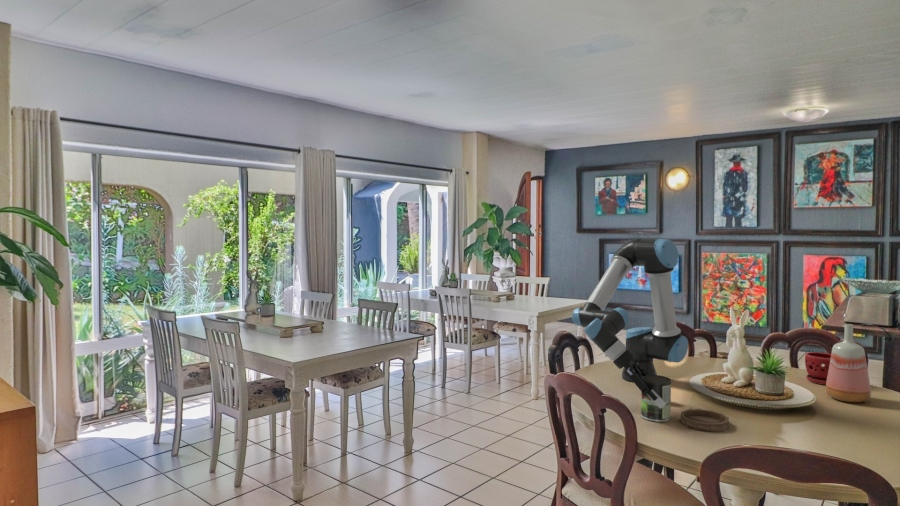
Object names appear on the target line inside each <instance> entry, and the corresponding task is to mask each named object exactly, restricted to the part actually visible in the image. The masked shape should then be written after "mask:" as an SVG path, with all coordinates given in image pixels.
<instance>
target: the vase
mask: <svg viewBox="0 0 900 506" xmlns="http://www.w3.org/2000/svg"><path fill="white" fill-rule="evenodd" d="M843 334H844V335H843V336H844V337H843V341H840V342H837V343H835V344H834V345H833V346H832V348H831V353H830V354H831V359H830V364H829V370H828V375H827V381H826V385H825V392H826V393H827V395H828V396H829V397H831V398H833V399H835V400H837V401H842V402H847V403H853V404H854V403H858V404H859V403H865V402H866V401H868V400H869V399H871V395H872V393H871V392H872V390H871V383H870V377H869V369H868V363H867V358H866V356H867V355H866V351H865V348H864V347H863V346H862V345H860V344H858V343H856V342H855V341H854V325H853V323H852V324H850V323H845V324H844V332H843Z"/></svg>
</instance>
